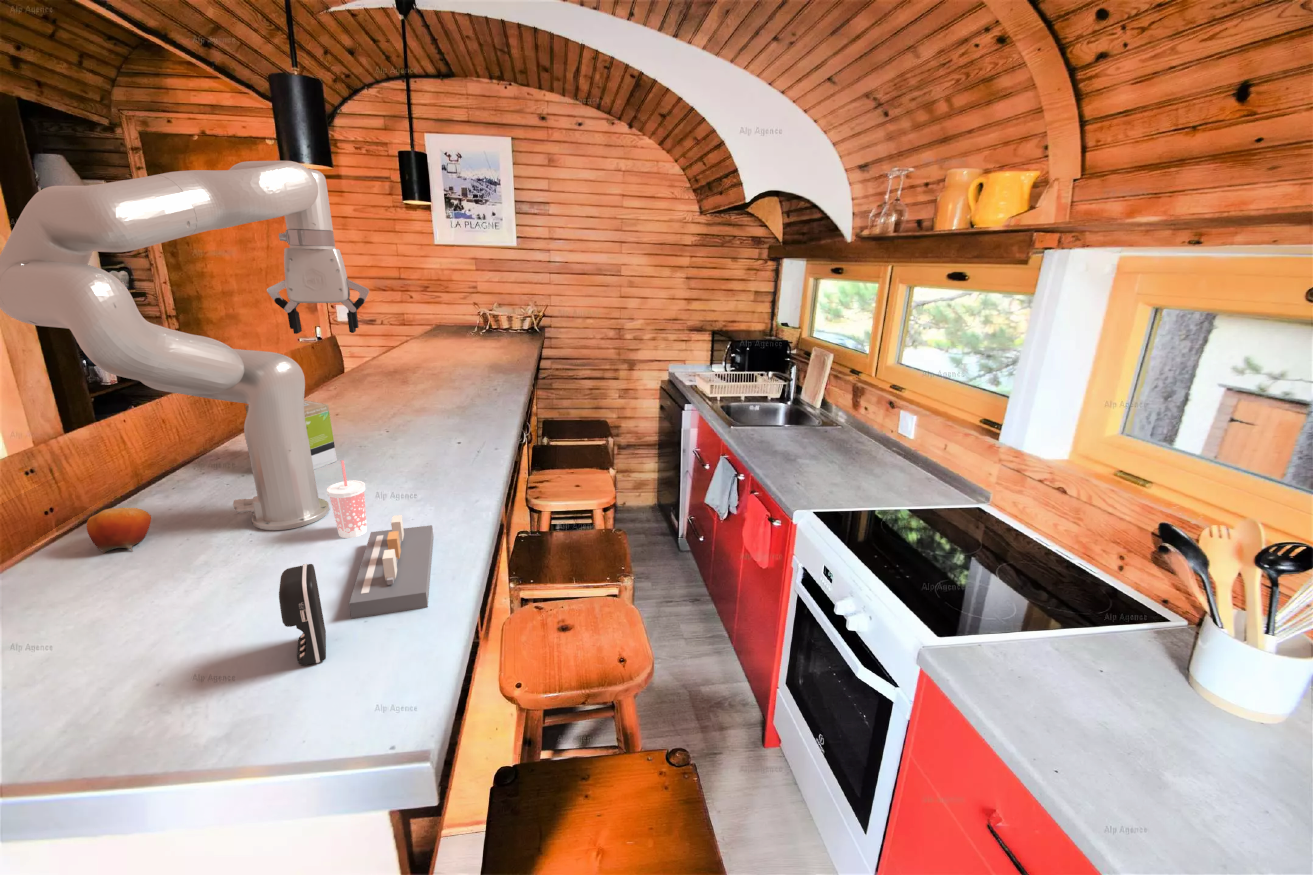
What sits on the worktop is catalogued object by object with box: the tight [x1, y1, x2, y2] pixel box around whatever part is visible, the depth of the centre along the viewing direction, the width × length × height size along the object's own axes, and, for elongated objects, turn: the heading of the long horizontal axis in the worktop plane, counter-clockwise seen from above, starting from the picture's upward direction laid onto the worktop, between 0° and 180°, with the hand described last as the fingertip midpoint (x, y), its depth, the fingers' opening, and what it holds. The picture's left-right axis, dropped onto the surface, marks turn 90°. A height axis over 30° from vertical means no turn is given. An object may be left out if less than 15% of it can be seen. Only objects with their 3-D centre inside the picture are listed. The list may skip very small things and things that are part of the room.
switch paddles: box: [382, 514, 404, 585], centre depth 91 cm, size 1×16×4 cm, turn 18°
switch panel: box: [348, 525, 434, 619], centre depth 92 cm, size 10×22×3 cm, turn 18°
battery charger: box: [278, 563, 327, 666], centre depth 72 cm, size 7×4×11 cm, turn 29°
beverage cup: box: [326, 459, 368, 539], centre depth 103 cm, size 6×6×14 cm
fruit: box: [86, 507, 152, 554], centre depth 97 cm, size 8×8×8 cm
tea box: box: [244, 399, 338, 471], centre depth 134 cm, size 15×10×15 cm
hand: (325, 332), depth 113 cm, fingers open, 9 cm apart
